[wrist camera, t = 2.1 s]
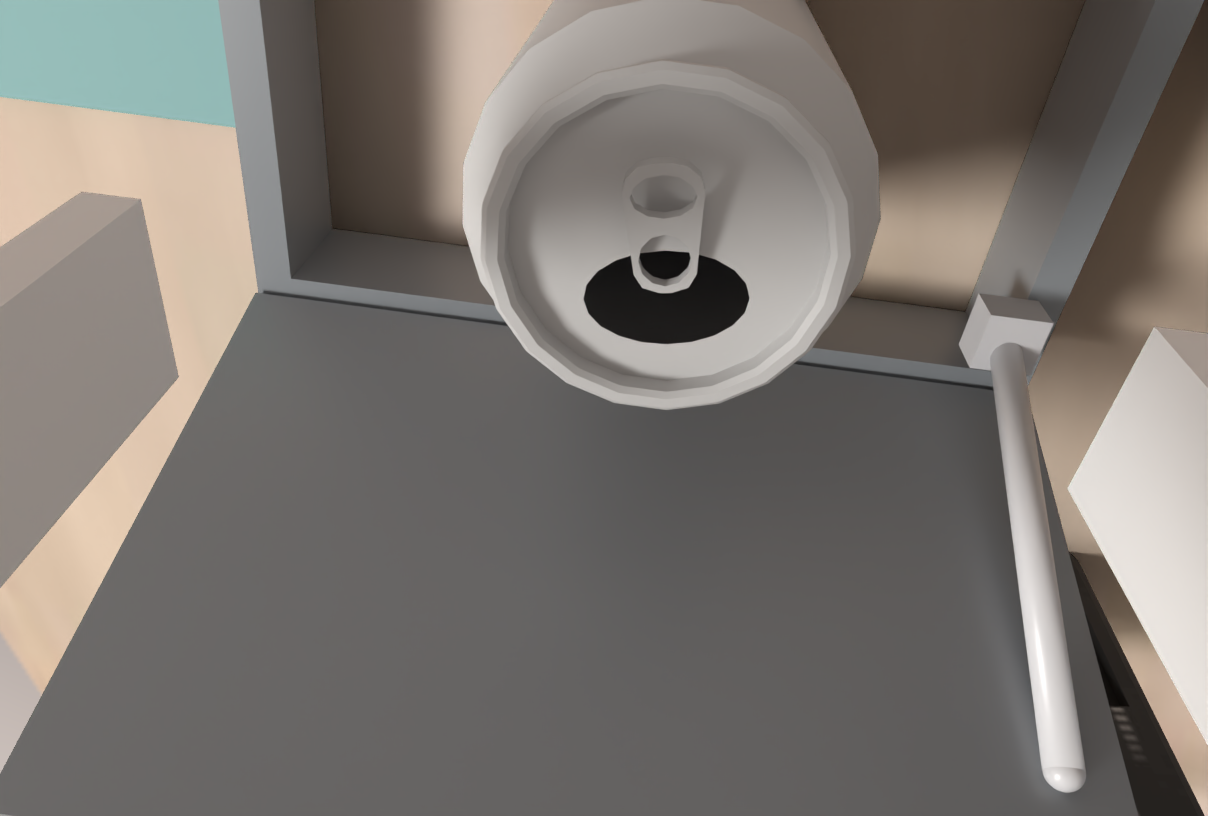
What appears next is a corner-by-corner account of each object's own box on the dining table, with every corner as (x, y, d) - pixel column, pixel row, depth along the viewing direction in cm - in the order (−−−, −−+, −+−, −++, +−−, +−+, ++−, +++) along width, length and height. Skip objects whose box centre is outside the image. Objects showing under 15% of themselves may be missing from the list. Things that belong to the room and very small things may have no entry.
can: (552, 204, 27) (470, 444, 17) (528, -76, 23) (400, 29, 13) (804, 200, 26) (870, 447, 16) (828, -90, 22) (936, 8, 12)
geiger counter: (796, 624, 36) (848, 1049, 24) (807, 542, 34) (871, 971, 21) (1061, 635, 35) (1256, 1083, 23) (1094, 552, 33) (1332, 1007, 21)
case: (1201, -182, 20) (2364, -115, 6) (944, 444, 31) (1156, 1000, 17) (247, -302, 20) (-746, -505, 6) (314, 360, 31) (-4, 838, 17)
